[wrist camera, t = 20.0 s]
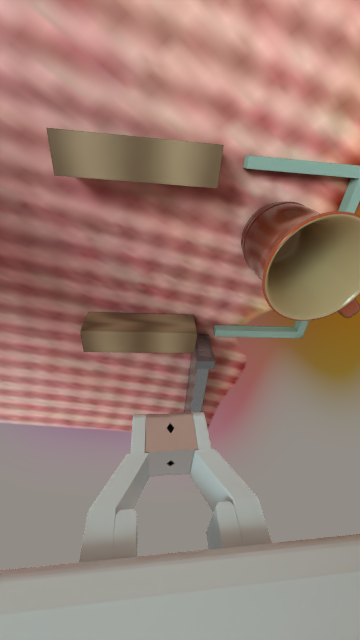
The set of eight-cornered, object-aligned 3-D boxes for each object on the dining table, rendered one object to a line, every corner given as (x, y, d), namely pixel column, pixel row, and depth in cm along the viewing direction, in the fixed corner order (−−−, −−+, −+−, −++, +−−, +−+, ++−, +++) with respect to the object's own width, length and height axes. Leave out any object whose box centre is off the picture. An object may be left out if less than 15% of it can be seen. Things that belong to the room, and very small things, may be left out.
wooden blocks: (91, 331, 33) (83, 351, 30) (63, 131, 22) (46, 127, 18) (190, 333, 35) (194, 353, 31) (214, 145, 23) (223, 144, 20)
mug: (214, 240, 28) (239, 280, 19) (280, 170, 25) (344, 181, 16) (279, 301, 33) (322, 354, 24) (341, 250, 30) (415, 290, 21)
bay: (213, 331, 35) (214, 336, 34) (245, 155, 24) (249, 155, 23) (297, 332, 36) (301, 338, 35) (365, 166, 25) (374, 167, 24)
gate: (181, 418, 44) (183, 447, 40) (192, 334, 34) (196, 361, 30) (193, 418, 45) (197, 447, 40) (208, 334, 35) (215, 361, 30)
